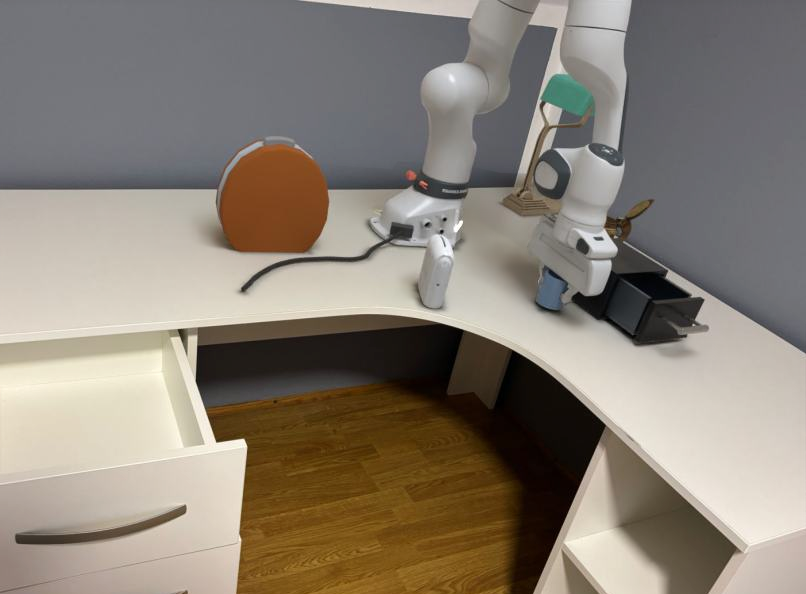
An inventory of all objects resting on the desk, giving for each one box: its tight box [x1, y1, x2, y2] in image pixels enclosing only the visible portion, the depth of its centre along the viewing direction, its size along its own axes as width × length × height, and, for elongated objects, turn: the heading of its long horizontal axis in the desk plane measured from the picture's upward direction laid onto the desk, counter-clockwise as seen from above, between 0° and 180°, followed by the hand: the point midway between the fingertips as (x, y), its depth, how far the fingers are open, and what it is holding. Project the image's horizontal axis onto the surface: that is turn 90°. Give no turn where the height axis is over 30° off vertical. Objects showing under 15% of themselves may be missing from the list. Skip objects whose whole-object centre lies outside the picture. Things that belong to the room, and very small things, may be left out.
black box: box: [571, 237, 669, 320], centre depth 150 cm, size 16×15×11 cm
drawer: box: [603, 274, 710, 344], centre depth 139 cm, size 20×13×9 cm
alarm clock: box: [215, 135, 330, 254], centre depth 143 cm, size 22×10×23 cm, turn 108°
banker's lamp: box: [501, 73, 595, 217], centre depth 190 cm, size 16×21×35 cm
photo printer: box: [417, 234, 455, 309], centre depth 137 cm, size 10×4×12 cm, turn 3°
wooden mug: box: [604, 198, 655, 243], centre depth 165 cm, size 9×14×18 cm, turn 77°
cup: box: [535, 268, 569, 311], centre depth 142 cm, size 6×6×6 cm
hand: (553, 292), depth 143 cm, fingers closed on cup, 5 cm apart
